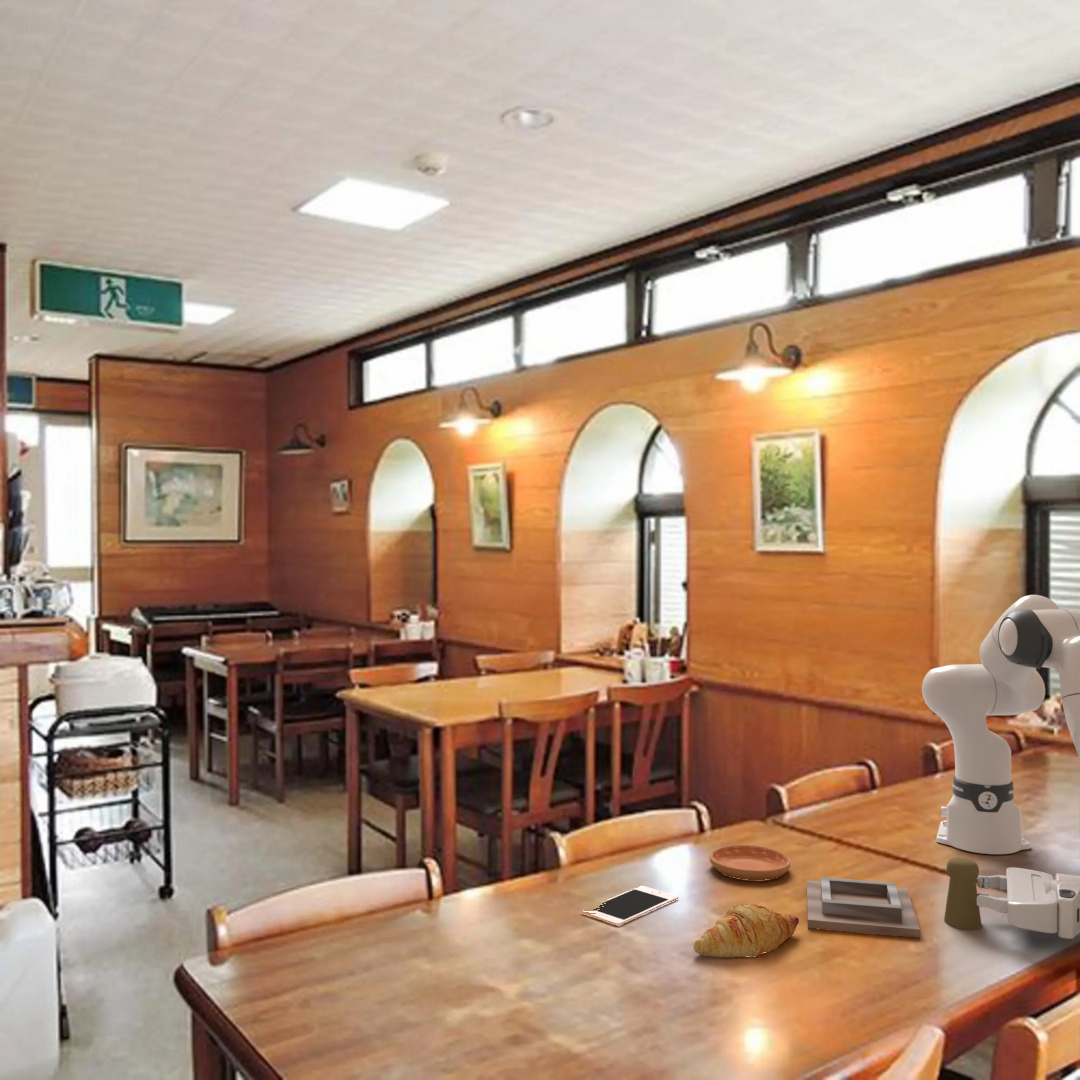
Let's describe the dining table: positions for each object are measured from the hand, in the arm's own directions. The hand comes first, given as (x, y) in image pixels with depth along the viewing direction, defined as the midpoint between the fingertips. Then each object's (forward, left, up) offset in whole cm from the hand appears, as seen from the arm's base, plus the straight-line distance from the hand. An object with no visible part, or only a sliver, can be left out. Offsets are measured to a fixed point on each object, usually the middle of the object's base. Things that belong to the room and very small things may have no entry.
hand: (977, 890), depth 174 cm
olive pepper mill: (0, -2, -6) cm, 7 cm away
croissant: (+18, -38, -6) cm, 43 cm away
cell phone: (+6, -59, -7) cm, 60 cm away
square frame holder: (-1, -19, -6) cm, 20 cm away
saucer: (-19, -39, -6) cm, 44 cm away
